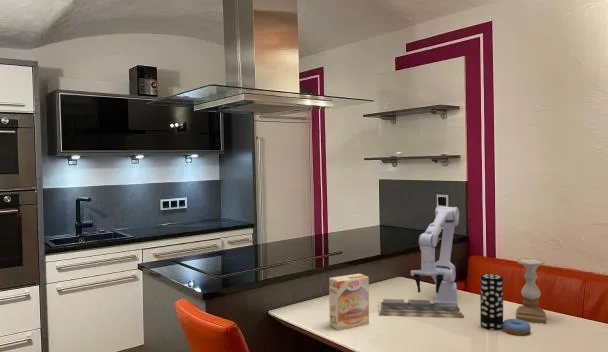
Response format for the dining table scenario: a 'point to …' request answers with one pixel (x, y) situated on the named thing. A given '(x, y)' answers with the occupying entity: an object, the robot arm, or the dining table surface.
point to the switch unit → (420, 311)
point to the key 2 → (445, 305)
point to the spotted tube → (491, 301)
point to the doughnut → (516, 327)
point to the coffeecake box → (349, 301)
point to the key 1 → (393, 302)
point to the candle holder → (531, 294)
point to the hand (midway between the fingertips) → (428, 292)
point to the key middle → (419, 303)
